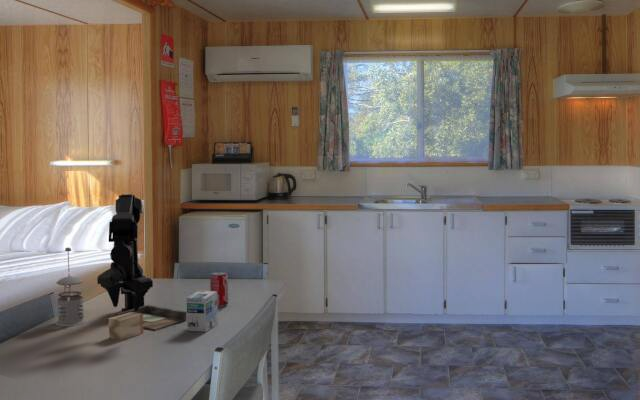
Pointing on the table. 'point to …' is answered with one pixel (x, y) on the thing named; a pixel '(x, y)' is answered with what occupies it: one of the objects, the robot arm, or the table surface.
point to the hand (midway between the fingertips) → (125, 308)
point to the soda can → (220, 287)
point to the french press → (70, 302)
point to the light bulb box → (202, 311)
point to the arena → (158, 316)
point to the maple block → (125, 325)
